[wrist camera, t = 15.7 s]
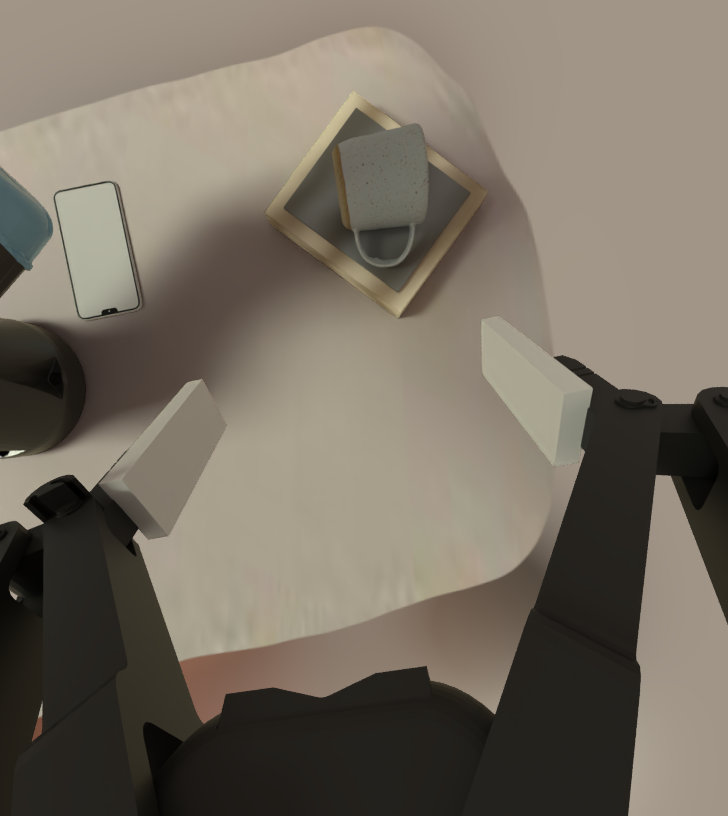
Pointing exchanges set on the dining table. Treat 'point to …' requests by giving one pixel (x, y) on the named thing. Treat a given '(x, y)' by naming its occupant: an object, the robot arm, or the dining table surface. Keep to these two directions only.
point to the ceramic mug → (383, 183)
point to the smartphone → (97, 250)
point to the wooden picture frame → (335, 245)
